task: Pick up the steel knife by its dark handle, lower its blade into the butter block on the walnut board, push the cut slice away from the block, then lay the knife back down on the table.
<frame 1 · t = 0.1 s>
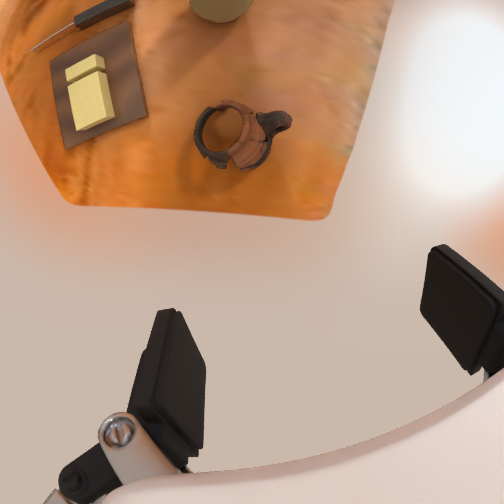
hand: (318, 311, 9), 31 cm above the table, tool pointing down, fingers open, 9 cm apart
cutting board: (95, 84, 29), on the table
butter slice: (89, 70, 27), point 1 cm above the table, touching cutting board
squeeze bottle: (222, 8, 26), on the table
knife: (81, 25, 24), on the table
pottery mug: (243, 133, 35), on the table
butter: (95, 101, 29), point 1 cm above the table, touching cutting board
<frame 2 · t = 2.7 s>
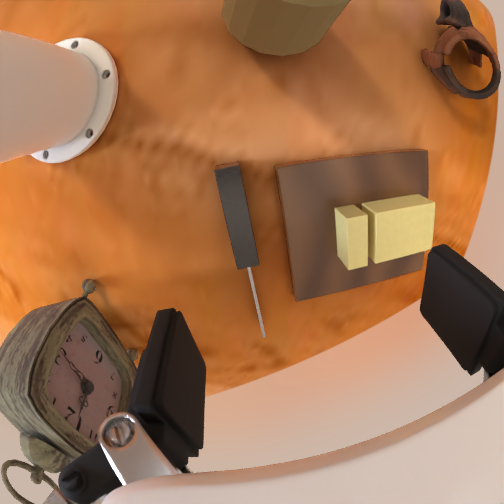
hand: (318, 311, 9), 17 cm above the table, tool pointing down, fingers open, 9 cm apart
cutting board: (361, 222, 26), on the table
butter slice: (345, 230, 25), point 1 cm above the table, touching cutting board
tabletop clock: (97, 320, 30), on the table
squeeze bottle: (269, 27, 18), on the table
knife: (246, 254, 27), on the table
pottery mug: (443, 49, 18), on the table
butter: (391, 221, 25), point 1 cm above the table, touching cutting board
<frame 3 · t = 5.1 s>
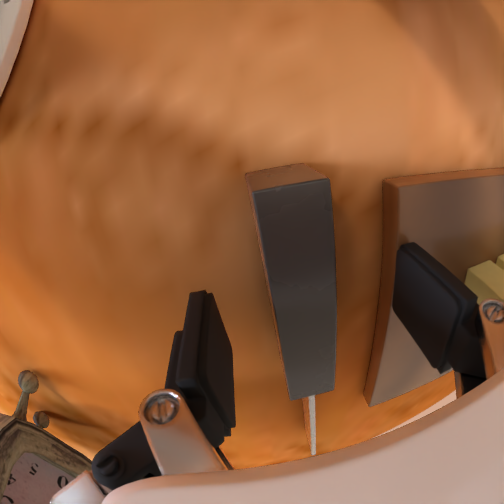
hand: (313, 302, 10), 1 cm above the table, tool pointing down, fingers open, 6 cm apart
cutting board: (480, 280, 12), on the table
butter slice: (468, 302, 11), point 1 cm above the table, touching cutting board
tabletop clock: (56, 412, 15), on the table
knife: (300, 354, 13), on the table
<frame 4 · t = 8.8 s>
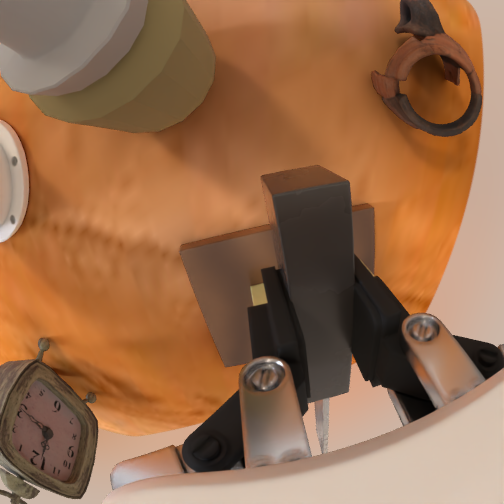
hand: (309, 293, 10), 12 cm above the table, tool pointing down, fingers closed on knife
cutting board: (289, 292, 25), on the table
butter slice: (267, 306, 24), point 1 cm above the table, touching cutting board
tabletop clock: (58, 368, 28), on the table
squeeze bottle: (162, 79, 16), on the table
knife: (313, 357, 13), point 12 cm above the table, touching gripper
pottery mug: (406, 65, 17), on the table
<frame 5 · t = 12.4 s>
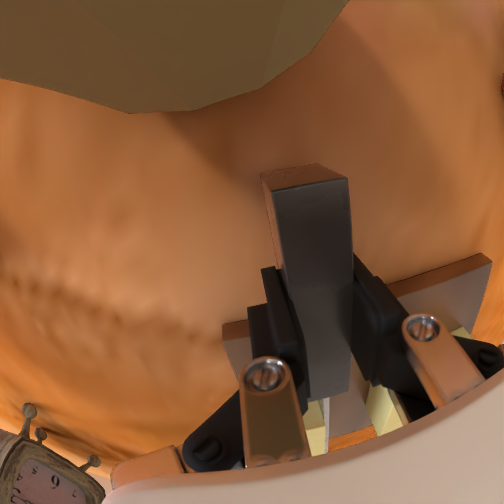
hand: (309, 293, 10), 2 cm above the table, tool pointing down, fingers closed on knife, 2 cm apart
cutting board: (369, 371, 16), on the table
butter slice: (298, 406, 15), point 1 cm above the table, touching cutting board, knife
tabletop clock: (52, 429, 19), on the table
squeeze bottle: (194, 21, 7), on the table
knife: (314, 357, 13), point 1 cm above the table, touching butter slice, gripper
butter: (415, 369, 15), point 1 cm above the table, touching cutting board
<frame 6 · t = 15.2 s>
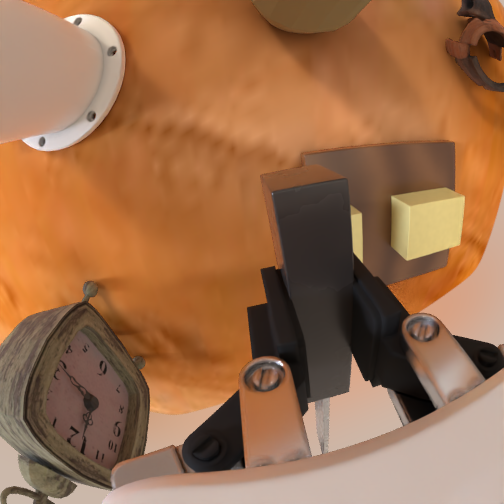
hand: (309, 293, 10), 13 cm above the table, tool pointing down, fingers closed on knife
cutting board: (389, 216, 24), on the table
butter slice: (337, 231, 23), point 1 cm above the table, touching cutting board
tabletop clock: (99, 326, 27), on the table
squeeze bottle: (292, 6, 15), on the table
knife: (314, 357, 13), point 13 cm above the table, touching gripper
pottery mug: (464, 41, 15), on the table
butter: (420, 215, 23), point 1 cm above the table, touching cutting board
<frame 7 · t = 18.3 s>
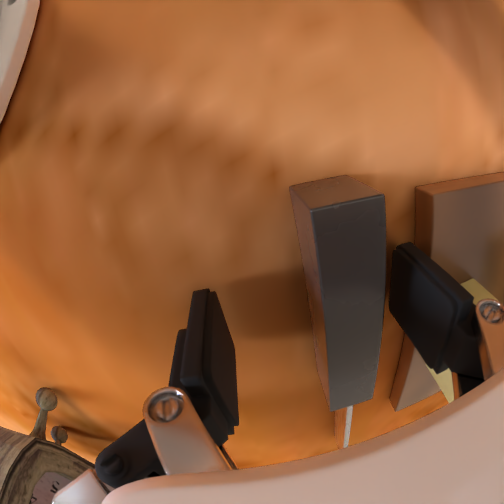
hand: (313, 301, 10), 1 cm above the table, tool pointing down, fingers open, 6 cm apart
cutting board: (501, 281, 11), on the table
butter slice: (449, 325, 10), point 1 cm above the table, touching cutting board
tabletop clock: (75, 427, 15), on the table
knife: (336, 364, 12), on the table
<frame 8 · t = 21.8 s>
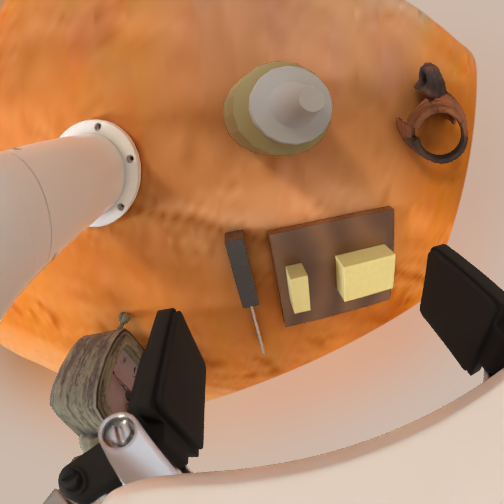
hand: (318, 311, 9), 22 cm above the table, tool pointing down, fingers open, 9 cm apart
cutting board: (336, 267, 35), on the table
butter slice: (295, 281, 34), point 1 cm above the table, touching cutting board
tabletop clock: (128, 342, 38), on the table
squeeze bottle: (262, 114, 26), on the table
knife: (249, 294, 36), on the table
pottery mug: (419, 110, 26), on the table
butter: (360, 266, 34), point 1 cm above the table, touching cutting board
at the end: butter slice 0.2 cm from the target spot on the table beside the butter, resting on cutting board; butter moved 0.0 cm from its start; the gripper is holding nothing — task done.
